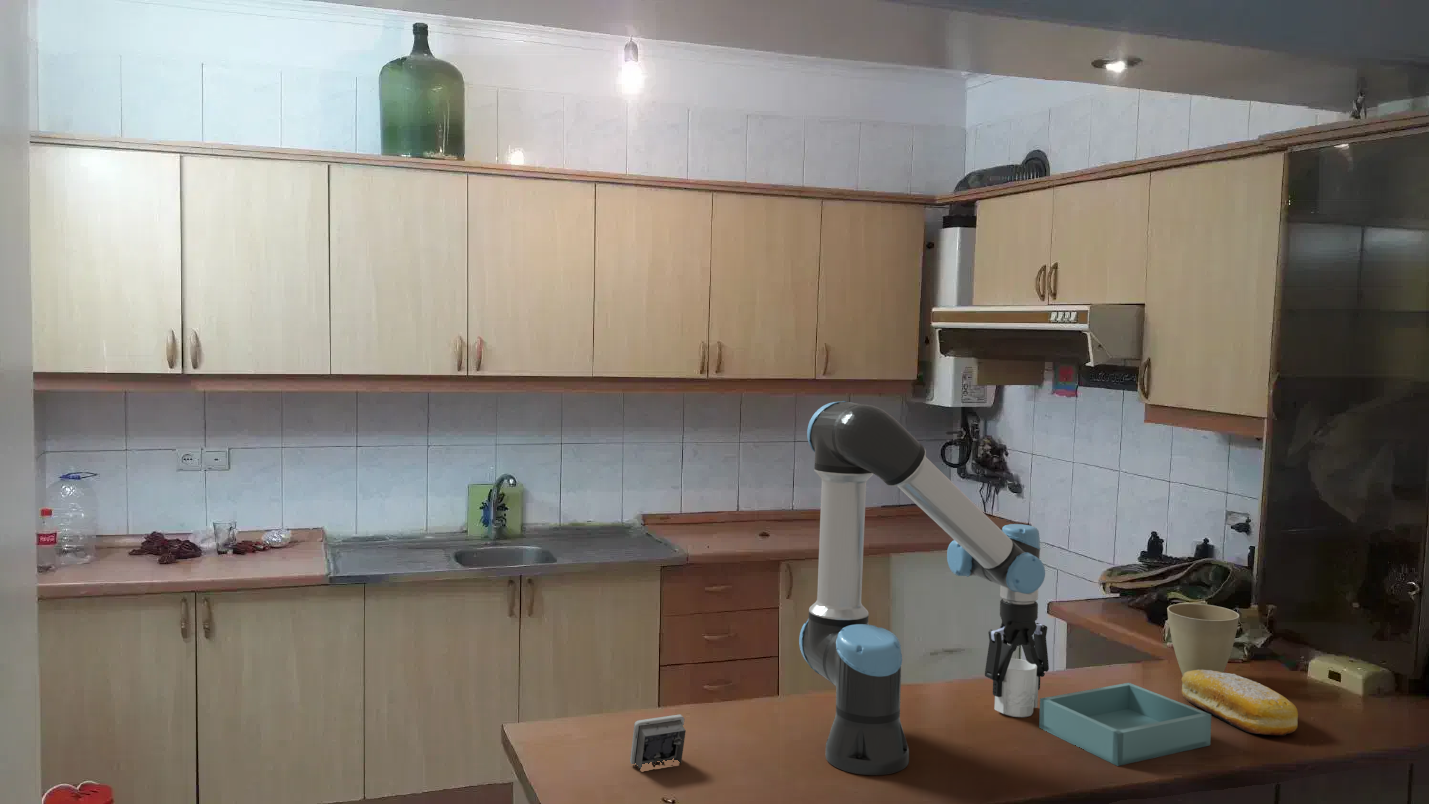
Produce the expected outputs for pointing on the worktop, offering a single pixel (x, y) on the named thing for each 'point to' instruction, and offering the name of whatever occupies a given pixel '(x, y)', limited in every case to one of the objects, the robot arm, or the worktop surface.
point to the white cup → (1020, 688)
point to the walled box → (1125, 723)
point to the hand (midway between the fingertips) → (1016, 708)
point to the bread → (1240, 702)
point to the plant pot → (1202, 635)
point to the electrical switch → (658, 740)
